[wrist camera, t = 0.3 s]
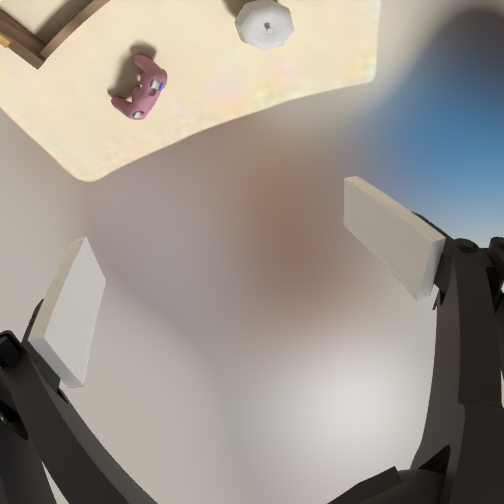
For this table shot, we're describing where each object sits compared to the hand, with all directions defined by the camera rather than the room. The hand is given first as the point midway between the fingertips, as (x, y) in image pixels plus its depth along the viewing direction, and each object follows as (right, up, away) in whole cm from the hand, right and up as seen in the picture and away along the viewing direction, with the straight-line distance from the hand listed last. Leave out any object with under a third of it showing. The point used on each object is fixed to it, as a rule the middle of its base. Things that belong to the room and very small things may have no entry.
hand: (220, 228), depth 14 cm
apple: (+2, +32, +18) cm, 37 cm away
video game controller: (-16, +25, +24) cm, 38 cm away
